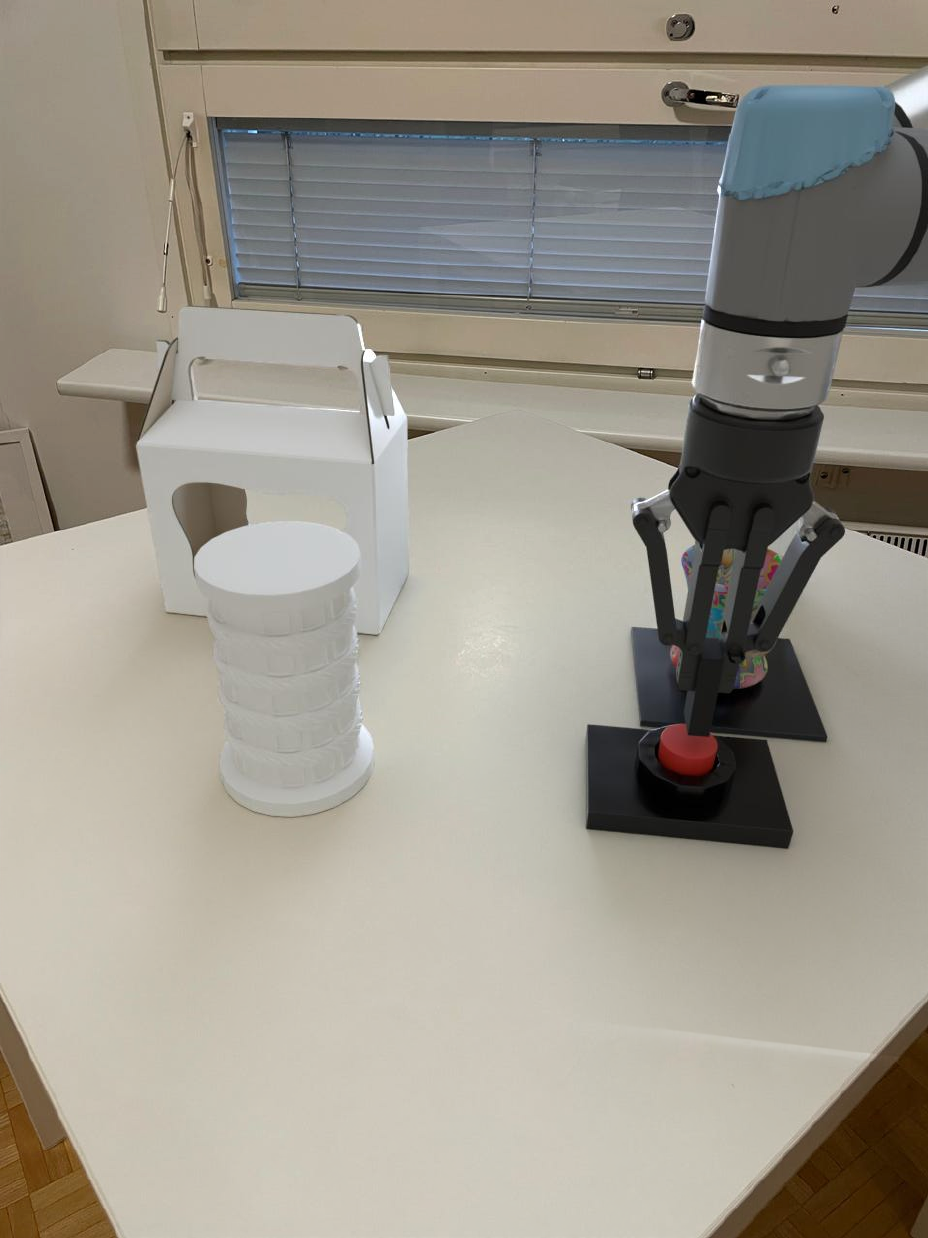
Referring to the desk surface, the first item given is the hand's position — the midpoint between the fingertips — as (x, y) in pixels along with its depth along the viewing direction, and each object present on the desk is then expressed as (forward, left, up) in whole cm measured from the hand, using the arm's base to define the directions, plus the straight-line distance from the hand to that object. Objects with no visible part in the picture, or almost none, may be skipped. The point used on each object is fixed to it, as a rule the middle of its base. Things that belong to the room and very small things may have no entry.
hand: (696, 724), depth 62 cm
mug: (-5, -15, -6) cm, 17 cm away
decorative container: (+29, +1, -6) cm, 30 cm away
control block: (0, 0, -6) cm, 6 cm away
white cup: (-11, -36, -7) cm, 38 cm away
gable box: (+37, -25, -6) cm, 45 cm away
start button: (0, 0, -3) cm, 3 cm away
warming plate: (-5, -15, -6) cm, 17 cm away
